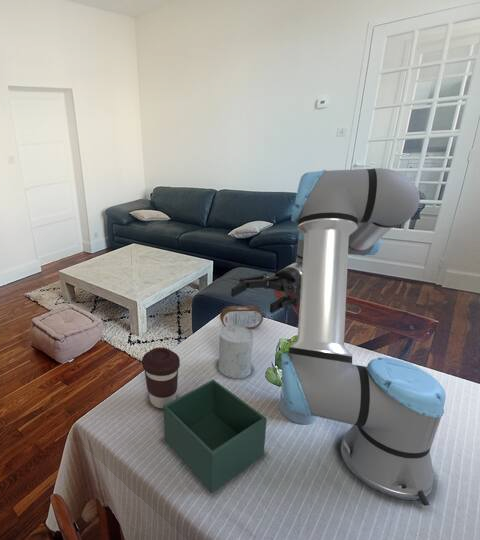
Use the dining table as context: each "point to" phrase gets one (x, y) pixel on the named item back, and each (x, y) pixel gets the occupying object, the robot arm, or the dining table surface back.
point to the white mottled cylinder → (235, 351)
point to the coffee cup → (161, 375)
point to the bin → (214, 433)
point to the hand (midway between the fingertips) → (250, 300)
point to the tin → (242, 316)
